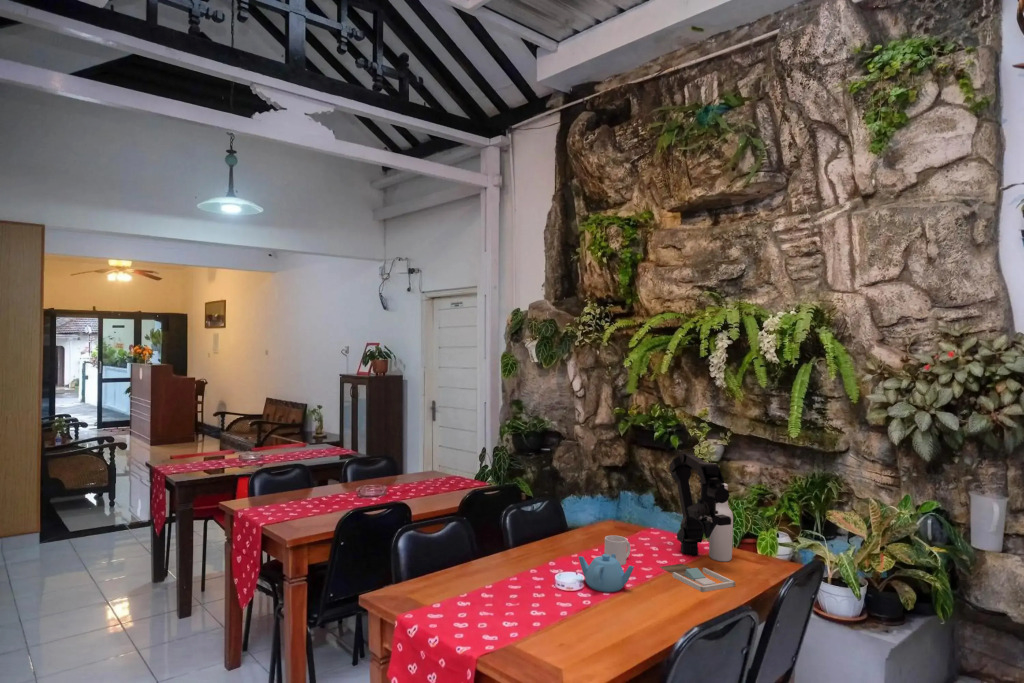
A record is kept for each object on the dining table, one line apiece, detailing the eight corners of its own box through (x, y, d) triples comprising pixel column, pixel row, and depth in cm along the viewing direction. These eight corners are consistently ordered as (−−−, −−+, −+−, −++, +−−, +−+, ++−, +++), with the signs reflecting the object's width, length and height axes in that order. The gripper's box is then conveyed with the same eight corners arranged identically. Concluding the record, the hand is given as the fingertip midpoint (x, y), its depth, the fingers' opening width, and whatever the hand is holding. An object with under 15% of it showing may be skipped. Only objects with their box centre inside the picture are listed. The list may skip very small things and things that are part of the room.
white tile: (694, 586, 220) (694, 579, 220) (705, 584, 222) (706, 577, 222) (704, 591, 215) (704, 584, 215) (715, 589, 217) (715, 582, 217)
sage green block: (684, 574, 225) (686, 569, 225) (695, 573, 227) (697, 567, 226) (692, 584, 221) (694, 578, 220) (703, 582, 223) (705, 577, 222)
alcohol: (709, 560, 248) (711, 484, 248) (708, 553, 256) (711, 480, 257) (732, 563, 245) (734, 487, 246) (731, 556, 254) (733, 482, 254)
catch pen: (672, 581, 223) (672, 572, 224) (704, 575, 230) (704, 567, 230) (702, 596, 210) (702, 587, 210) (735, 590, 216) (735, 581, 217)
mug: (622, 559, 245) (623, 532, 246) (637, 565, 239) (638, 538, 239) (599, 564, 239) (600, 537, 239) (614, 570, 232) (615, 543, 232)
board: (658, 570, 233) (659, 566, 233) (681, 567, 238) (681, 563, 238) (678, 581, 223) (678, 577, 223) (702, 577, 228) (702, 573, 228)
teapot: (575, 579, 222) (576, 549, 222) (613, 576, 226) (614, 546, 227) (594, 596, 207) (595, 563, 207) (634, 592, 212) (635, 560, 212)
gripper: (675, 492, 242) (674, 533, 242) (709, 504, 225) (708, 547, 225) (697, 490, 247) (696, 530, 247) (732, 501, 230) (731, 544, 230)
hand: (707, 537), depth 237 cm, fingers closed
